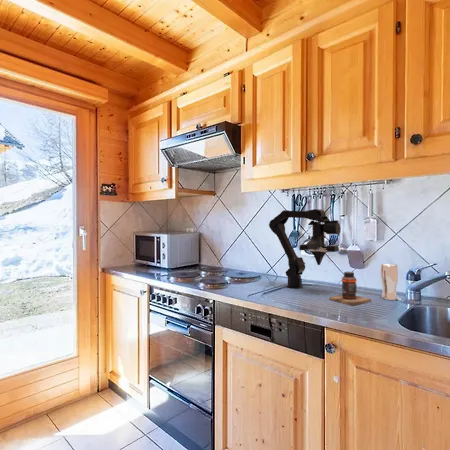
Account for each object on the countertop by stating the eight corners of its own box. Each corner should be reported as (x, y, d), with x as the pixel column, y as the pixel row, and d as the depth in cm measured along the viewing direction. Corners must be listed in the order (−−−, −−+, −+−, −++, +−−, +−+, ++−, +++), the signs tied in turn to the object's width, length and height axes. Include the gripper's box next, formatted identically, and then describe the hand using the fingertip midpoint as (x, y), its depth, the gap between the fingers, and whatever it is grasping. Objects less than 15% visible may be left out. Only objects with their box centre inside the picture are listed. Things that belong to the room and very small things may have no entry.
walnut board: (329, 299, 136) (329, 297, 136) (347, 296, 142) (347, 293, 142) (352, 305, 126) (352, 302, 126) (370, 301, 132) (370, 298, 132)
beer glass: (377, 297, 139) (376, 264, 139) (388, 295, 142) (388, 263, 142) (390, 300, 133) (389, 266, 133) (402, 299, 135) (401, 265, 135)
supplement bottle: (359, 298, 133) (359, 272, 133) (350, 300, 130) (349, 273, 130) (348, 295, 138) (348, 270, 138) (339, 297, 136) (338, 271, 136)
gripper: (293, 234, 154) (294, 265, 155) (329, 235, 142) (330, 268, 142) (304, 233, 163) (304, 262, 163) (339, 234, 150) (339, 265, 150)
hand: (318, 264), depth 154 cm, fingers closed
